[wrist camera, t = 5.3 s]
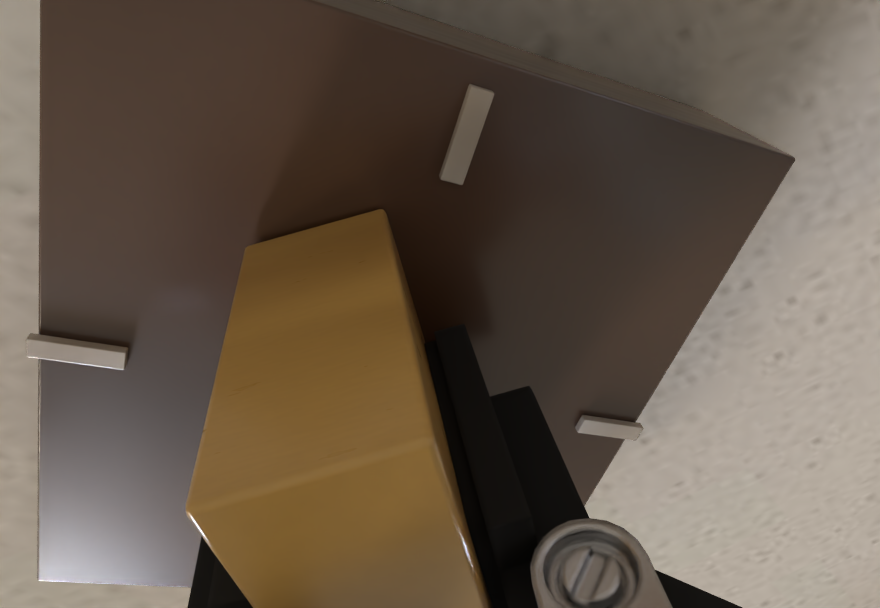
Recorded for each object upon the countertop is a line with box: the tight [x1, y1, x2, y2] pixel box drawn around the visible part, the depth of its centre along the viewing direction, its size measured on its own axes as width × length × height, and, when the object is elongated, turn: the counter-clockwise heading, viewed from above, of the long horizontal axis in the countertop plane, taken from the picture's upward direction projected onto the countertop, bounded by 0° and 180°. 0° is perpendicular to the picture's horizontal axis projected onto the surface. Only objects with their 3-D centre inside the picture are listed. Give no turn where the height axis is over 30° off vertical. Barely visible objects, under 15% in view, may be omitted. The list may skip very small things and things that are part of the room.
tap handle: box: [186, 209, 493, 608], centre depth 9 cm, size 7×2×5 cm, turn 13°
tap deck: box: [27, 0, 795, 587], centre depth 12 cm, size 12×11×3 cm
